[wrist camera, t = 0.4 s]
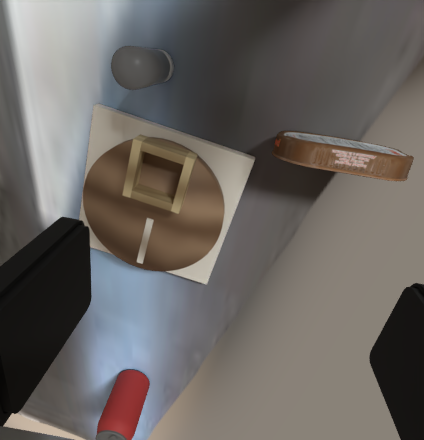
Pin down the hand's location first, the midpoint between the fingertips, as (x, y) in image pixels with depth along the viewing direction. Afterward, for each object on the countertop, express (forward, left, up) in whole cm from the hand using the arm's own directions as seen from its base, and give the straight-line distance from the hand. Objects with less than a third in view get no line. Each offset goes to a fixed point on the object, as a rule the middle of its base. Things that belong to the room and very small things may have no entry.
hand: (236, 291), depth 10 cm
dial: (+15, -8, -32) cm, 36 cm away
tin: (0, +11, -34) cm, 35 cm away
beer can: (+55, -4, -34) cm, 65 cm away
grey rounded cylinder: (-2, -12, -33) cm, 35 cm away
